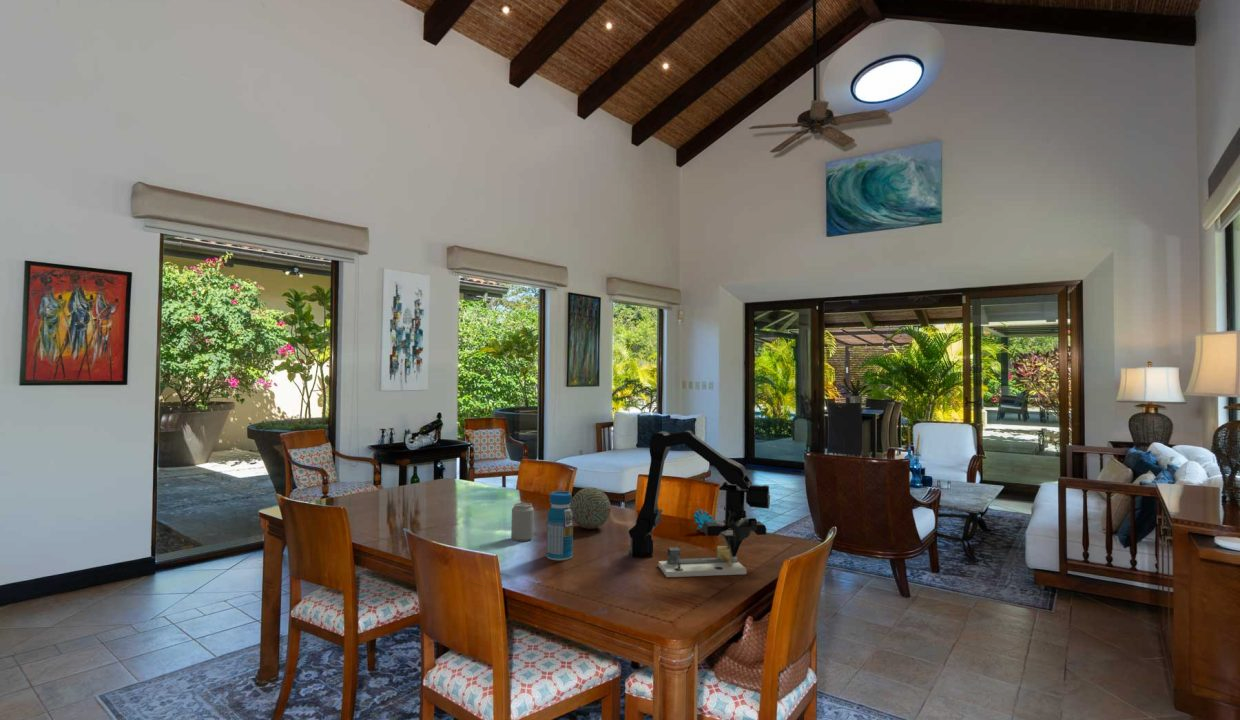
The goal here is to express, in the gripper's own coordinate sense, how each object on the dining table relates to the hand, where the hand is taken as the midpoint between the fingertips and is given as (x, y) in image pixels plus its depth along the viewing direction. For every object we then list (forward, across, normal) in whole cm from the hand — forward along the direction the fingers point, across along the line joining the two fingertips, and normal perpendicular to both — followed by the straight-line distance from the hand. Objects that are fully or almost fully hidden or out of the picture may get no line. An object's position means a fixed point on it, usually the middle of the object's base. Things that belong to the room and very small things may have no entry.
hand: (733, 556), depth 193 cm
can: (+3, -63, +37) cm, 73 cm away
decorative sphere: (+3, -38, +48) cm, 61 cm away
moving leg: (+1, -3, -3) cm, 4 cm away
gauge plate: (+3, -11, -3) cm, 11 cm away
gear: (+3, +4, +40) cm, 40 cm away
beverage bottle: (+3, -52, +14) cm, 54 cm away
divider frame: (+1, -10, -3) cm, 10 cm away
